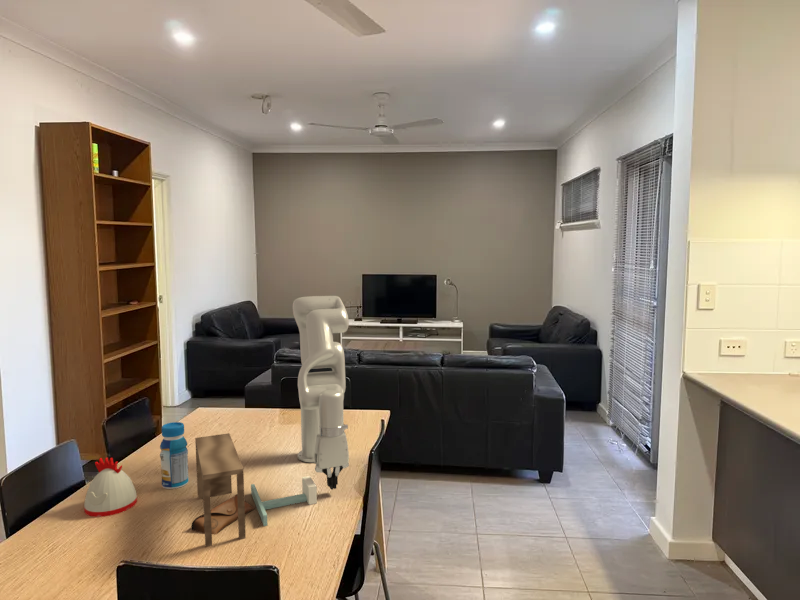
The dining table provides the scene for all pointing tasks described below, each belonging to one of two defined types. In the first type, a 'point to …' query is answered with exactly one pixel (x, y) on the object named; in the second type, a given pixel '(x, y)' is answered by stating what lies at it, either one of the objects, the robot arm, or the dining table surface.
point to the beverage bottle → (174, 456)
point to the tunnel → (218, 477)
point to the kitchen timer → (109, 491)
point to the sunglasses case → (221, 516)
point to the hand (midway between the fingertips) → (332, 487)
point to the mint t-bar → (286, 498)
